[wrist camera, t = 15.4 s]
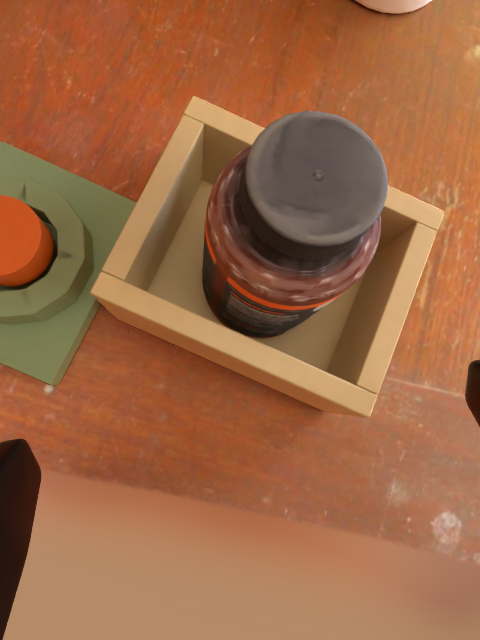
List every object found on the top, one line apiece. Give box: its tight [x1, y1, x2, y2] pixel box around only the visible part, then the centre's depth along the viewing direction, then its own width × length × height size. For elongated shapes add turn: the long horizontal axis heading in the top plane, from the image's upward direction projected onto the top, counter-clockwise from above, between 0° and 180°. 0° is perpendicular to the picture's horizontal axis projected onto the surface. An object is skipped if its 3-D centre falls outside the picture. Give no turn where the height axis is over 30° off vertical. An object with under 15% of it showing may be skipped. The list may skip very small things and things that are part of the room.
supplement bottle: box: [202, 111, 388, 338], centre depth 17 cm, size 6×6×11 cm
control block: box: [0, 141, 137, 385], centre depth 21 cm, size 10×8×3 cm
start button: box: [0, 195, 54, 286], centre depth 19 cm, size 4×4×2 cm
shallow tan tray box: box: [90, 96, 444, 418], centre depth 21 cm, size 10×12×6 cm
